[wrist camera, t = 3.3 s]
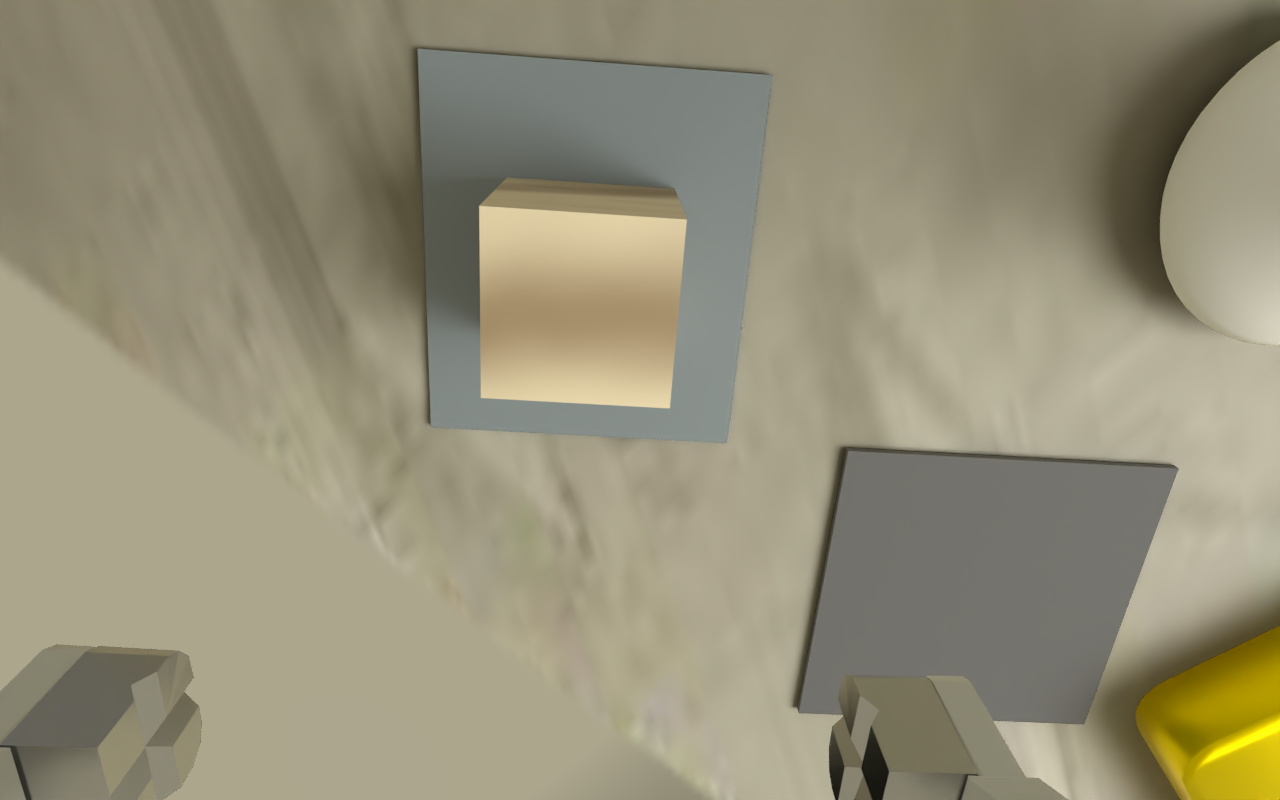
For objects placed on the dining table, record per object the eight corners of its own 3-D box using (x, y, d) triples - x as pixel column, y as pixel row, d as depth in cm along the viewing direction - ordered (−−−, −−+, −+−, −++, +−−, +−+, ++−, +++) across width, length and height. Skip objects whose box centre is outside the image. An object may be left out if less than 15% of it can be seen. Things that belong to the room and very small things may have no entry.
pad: (846, 447, 33) (848, 450, 33) (1173, 465, 34) (1178, 468, 34) (797, 708, 39) (798, 713, 39) (1080, 719, 39) (1084, 724, 39)
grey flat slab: (418, 48, 27) (417, 48, 27) (771, 74, 28) (772, 75, 28) (431, 425, 33) (430, 427, 32) (726, 441, 33) (727, 443, 33)
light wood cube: (506, 177, 29) (479, 205, 23) (674, 188, 29) (686, 219, 23) (506, 337, 31) (480, 398, 26) (661, 346, 31) (669, 408, 26)
